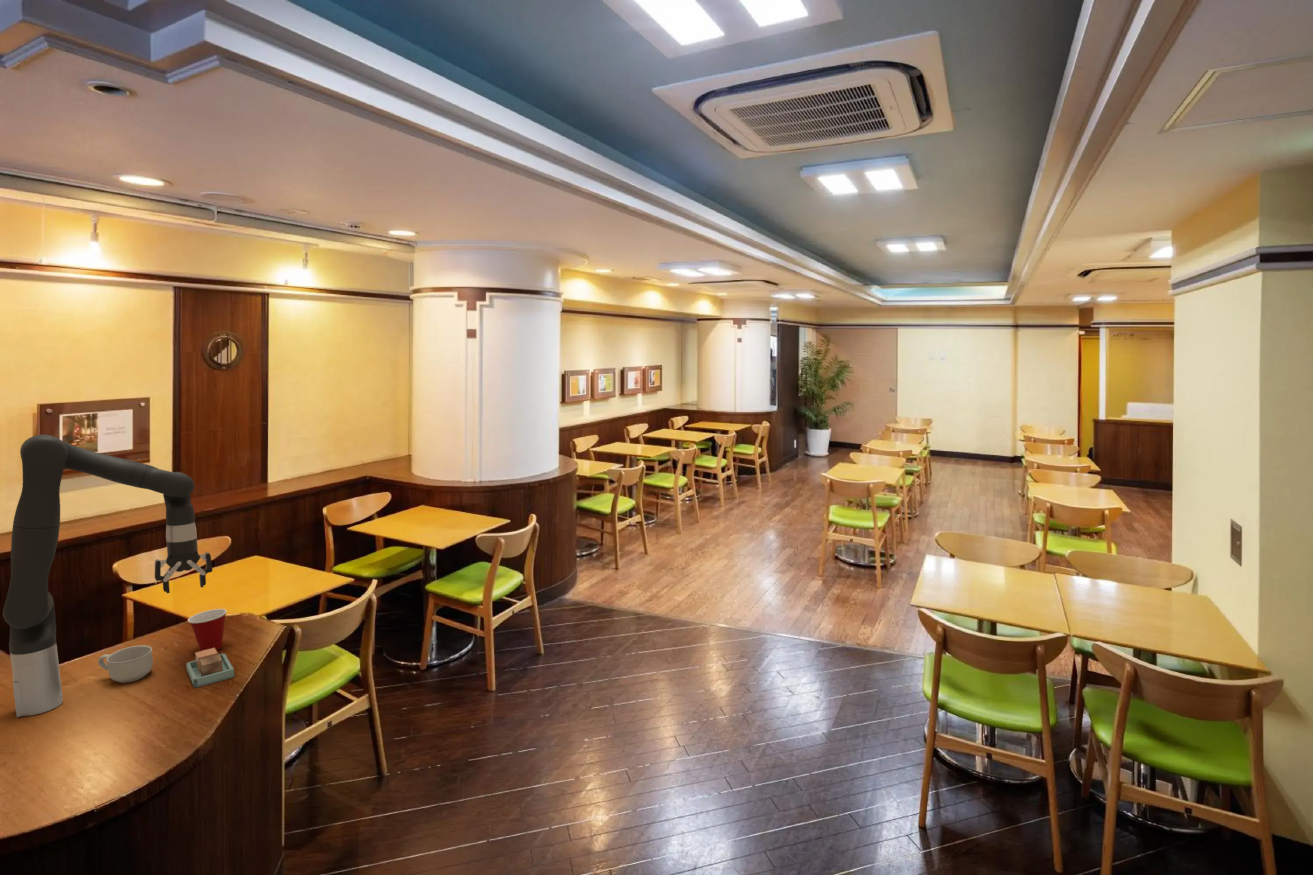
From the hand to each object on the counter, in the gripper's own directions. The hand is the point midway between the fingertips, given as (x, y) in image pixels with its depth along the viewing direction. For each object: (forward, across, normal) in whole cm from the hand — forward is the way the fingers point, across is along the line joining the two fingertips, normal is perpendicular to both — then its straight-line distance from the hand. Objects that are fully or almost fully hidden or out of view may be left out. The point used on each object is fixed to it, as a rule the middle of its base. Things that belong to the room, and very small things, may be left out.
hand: (185, 589), depth 202 cm
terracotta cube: (+24, +4, -6) cm, 25 cm away
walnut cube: (+24, +4, -13) cm, 28 cm away
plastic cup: (+25, +7, +12) cm, 28 cm away
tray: (+25, +4, -9) cm, 27 cm away
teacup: (+25, -15, +5) cm, 30 cm away
